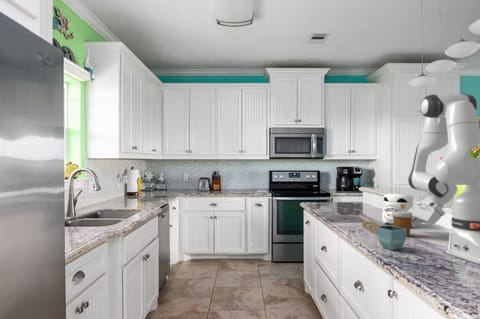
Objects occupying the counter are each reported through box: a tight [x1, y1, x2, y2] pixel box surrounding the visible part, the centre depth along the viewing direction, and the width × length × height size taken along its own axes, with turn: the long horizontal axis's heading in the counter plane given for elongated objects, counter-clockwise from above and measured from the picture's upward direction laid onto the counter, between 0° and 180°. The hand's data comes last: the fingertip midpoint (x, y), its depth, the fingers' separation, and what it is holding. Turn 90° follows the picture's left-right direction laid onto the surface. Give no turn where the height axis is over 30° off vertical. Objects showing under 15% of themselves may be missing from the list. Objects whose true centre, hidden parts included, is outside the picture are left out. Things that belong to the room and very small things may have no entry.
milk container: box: [381, 193, 414, 225], centre depth 182 cm, size 17×17×18 cm
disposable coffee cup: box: [392, 211, 413, 238], centre depth 157 cm, size 10×10×12 cm
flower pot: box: [376, 226, 407, 251], centre depth 134 cm, size 9×9×9 cm
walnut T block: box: [361, 221, 394, 235], centre depth 166 cm, size 24×16×3 cm, turn 0°
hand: (411, 225), depth 157 cm, fingers closed, pressing on disposable coffee cup
